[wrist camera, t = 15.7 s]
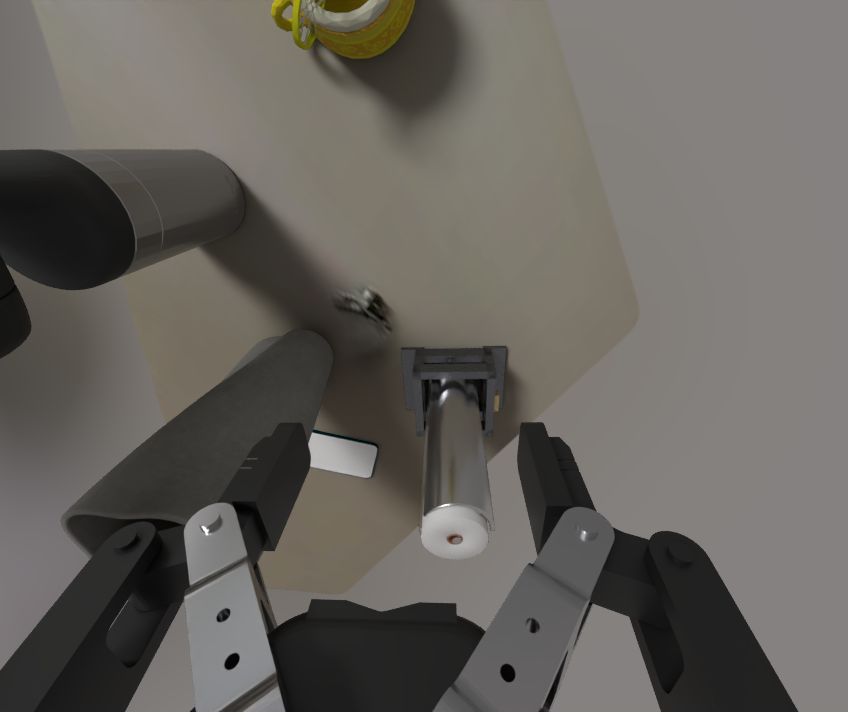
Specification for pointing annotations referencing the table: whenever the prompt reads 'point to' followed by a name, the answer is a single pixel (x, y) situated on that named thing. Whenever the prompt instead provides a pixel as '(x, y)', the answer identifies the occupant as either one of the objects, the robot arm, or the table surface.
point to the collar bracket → (487, 371)
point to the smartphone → (342, 454)
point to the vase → (207, 441)
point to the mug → (346, 24)
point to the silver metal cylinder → (454, 472)
